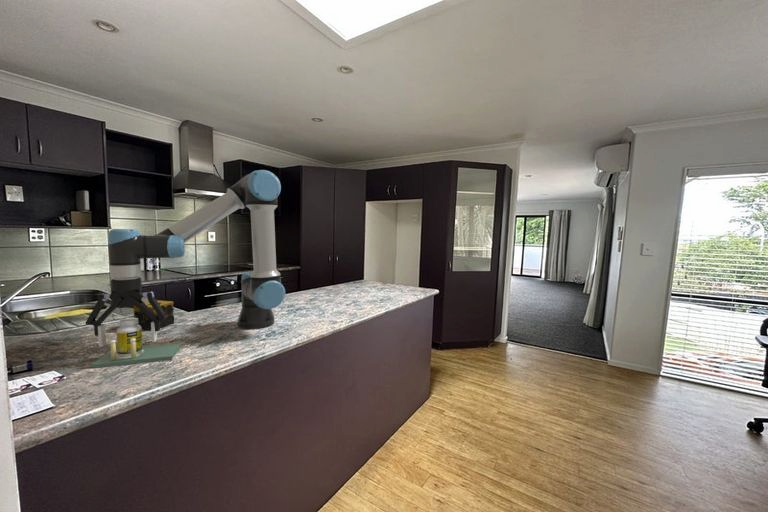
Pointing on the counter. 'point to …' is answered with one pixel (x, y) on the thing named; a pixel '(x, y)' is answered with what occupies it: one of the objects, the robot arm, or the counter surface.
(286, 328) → the counter surface
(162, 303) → the yellow-topped dark cube
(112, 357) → the header board
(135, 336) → the pill bottle
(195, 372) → the counter surface
